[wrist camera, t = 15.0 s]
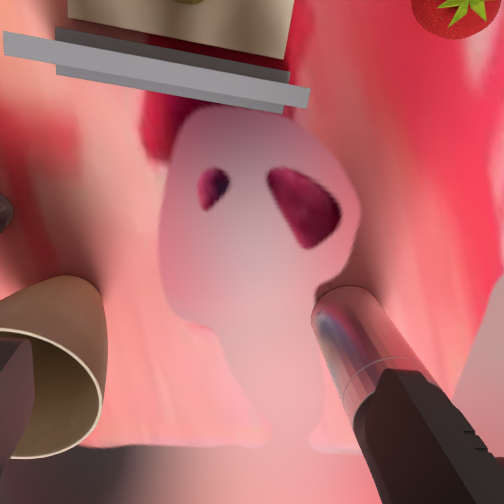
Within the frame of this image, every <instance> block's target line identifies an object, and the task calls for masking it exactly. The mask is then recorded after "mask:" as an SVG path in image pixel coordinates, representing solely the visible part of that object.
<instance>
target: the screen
mask: <svg viewBox="0 0 504 504" xmlns="http://www.w3.org/2000/svg"><path fill="white" fill-rule="evenodd" d="M55 40H56V41H55ZM55 40H49V39H44V38H39V37H33V36H28V35H23V34H17V33H12V32H7V31H3V41H4V55H8V56H13V57H19V58H25V59H30V60H36V61H41V62H47V63H53V64H56V75H62V76H68V77H73V78H79V79H85V80H91V81H96V82H102V83H108V84H113V85H119V86H125V87H131V88H136V89H142V90H148V91H154V92H159V93H165V94H171V95H176V96H182V97H188V98H194V99H199V100H205V101H211V102H216V103H222V104H228V105H234V106H239V107H245V108H251V109H256V110H262V111H268V112H274V113H279V114H283V109H284V105H288V106H293V107H299V108H304V109H307V105H308V100H309V95H310V91H311V88H306V87H300V86H295V85H290V84H288V83H289V78H290V72H289V71H283V70H278V69H273V68H268V67H263V66H257V65H252V64H247V63H242V62H237V61H231V60H226V59H221V58H216V57H211V56H205V55H200V54H195V53H190V52H185V51H179V50H174V49H169V48H164V47H159V46H153V45H148V44H143V43H138V42H133V41H127V40H122V39H117V38H112V37H107V36H101V35H96V34H91V33H86V32H81V31H75V30H70V29H65V28H60V27H55Z"/></svg>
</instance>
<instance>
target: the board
mask: <svg viewBox="0 0 504 504" xmlns="http://www.w3.org/2000/svg"><path fill="white" fill-rule="evenodd" d="M293 5H294V0H204V1H202V2H200V3H197V4H192V5H191V4H182V3H179V2H176V1H175V0H67V6H68V17H69V18H72V19H77V20H82V21H87V22H92V23H97V24H102V25H107V26H112V27H117V28H123V29H128V30H133V31H138V32H143V33H148V34H153V35H158V36H163V37H168V38H173V39H179V40H184V41H189V42H194V43H199V44H204V45H209V46H214V47H219V48H224V49H229V50H234V51H240V52H245V53H250V54H255V55H260V56H265V57H270V58H275V59H280V60H283V59H284V54H285V49H286V43H287V38H288V32H289V27H290V21H291V16H292V10H293Z"/></svg>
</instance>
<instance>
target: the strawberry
mask: <svg viewBox="0 0 504 504" xmlns="http://www.w3.org/2000/svg"><path fill="white" fill-rule="evenodd" d="M411 2H412V9H413V13H414V15H415V17H416V19H417V21H418V22H419V23H420V25H421V26H422V27H424V28H425V29H426V30H428V31H429V32H431V33H433V34H435V35H437V36H440V37H443V38H446V39H463V38H466V37H469V36H471V35H473V34H476V33H478V32H480V31H481V30H483V29H484V28H486V27H487V26H488V25H489V24H490V23H491V22H492V21H493V19H494V18H495V16H496V15H497V13H498V10H499V8H500V4H501V0H411Z"/></svg>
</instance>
